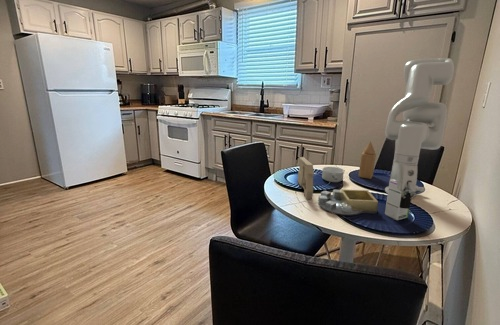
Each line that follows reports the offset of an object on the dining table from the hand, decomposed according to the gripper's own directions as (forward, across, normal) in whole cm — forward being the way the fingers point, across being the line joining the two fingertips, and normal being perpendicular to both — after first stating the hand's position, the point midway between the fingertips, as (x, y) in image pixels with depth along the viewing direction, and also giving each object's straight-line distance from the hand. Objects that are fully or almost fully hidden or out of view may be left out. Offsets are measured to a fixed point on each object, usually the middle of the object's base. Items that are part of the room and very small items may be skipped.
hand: (398, 202), depth 100 cm
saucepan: (+6, +36, +16) cm, 40 cm away
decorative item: (+5, +47, -4) cm, 48 cm away
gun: (+6, +24, +32) cm, 40 cm away
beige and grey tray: (+6, +7, +17) cm, 20 cm away
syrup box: (+6, 0, 0) cm, 6 cm away
